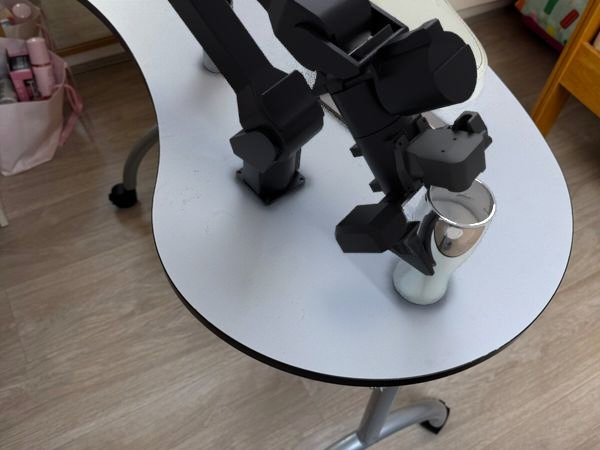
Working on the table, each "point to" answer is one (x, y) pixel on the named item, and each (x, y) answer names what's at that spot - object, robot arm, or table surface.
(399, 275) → the silver metal cup
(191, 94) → the table surface
